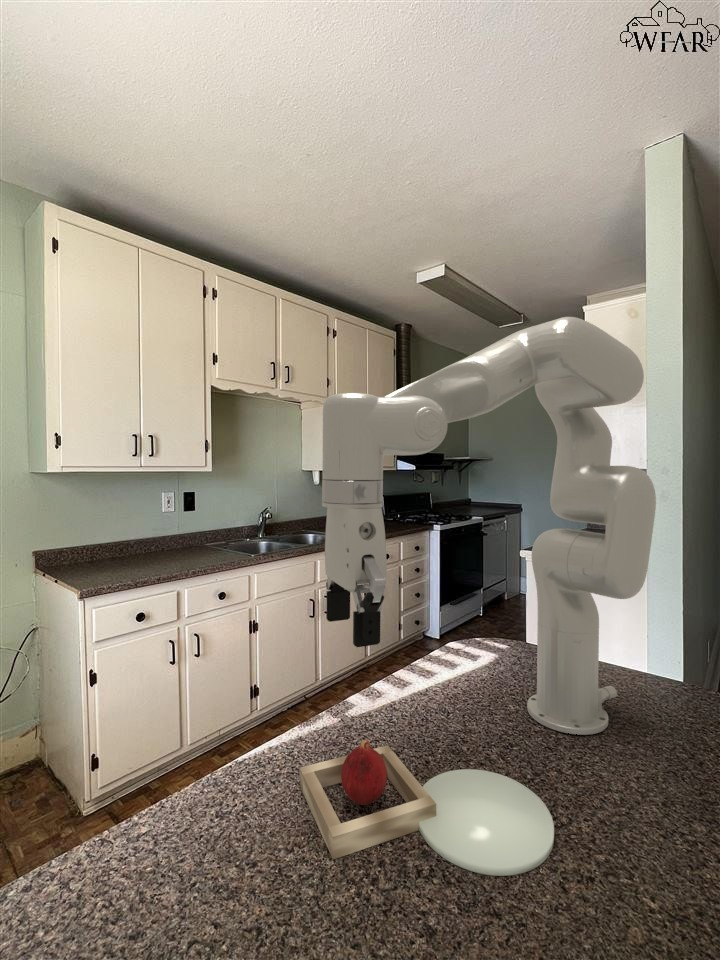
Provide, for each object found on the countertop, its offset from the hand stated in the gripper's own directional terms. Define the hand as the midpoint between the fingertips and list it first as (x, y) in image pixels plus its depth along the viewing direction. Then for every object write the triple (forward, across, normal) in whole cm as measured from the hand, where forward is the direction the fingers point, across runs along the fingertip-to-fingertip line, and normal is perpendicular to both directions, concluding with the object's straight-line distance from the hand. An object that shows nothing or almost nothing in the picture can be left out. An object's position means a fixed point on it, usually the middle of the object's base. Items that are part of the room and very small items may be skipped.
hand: (351, 631), depth 60 cm
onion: (+22, -1, -2) cm, 22 cm away
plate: (+22, -9, -14) cm, 27 cm away
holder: (+22, -1, -2) cm, 22 cm away
